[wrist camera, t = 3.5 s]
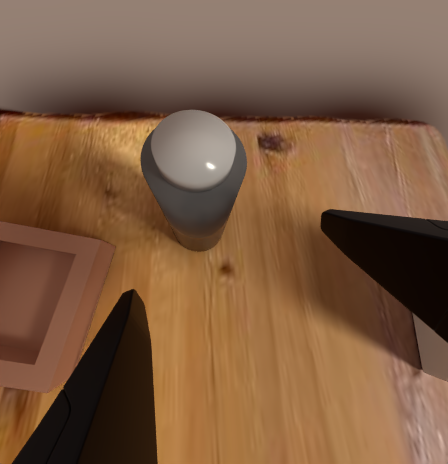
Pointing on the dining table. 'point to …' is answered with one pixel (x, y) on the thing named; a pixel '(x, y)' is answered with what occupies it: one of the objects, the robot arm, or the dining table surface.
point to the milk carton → (431, 350)
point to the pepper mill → (194, 175)
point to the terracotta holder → (46, 303)
